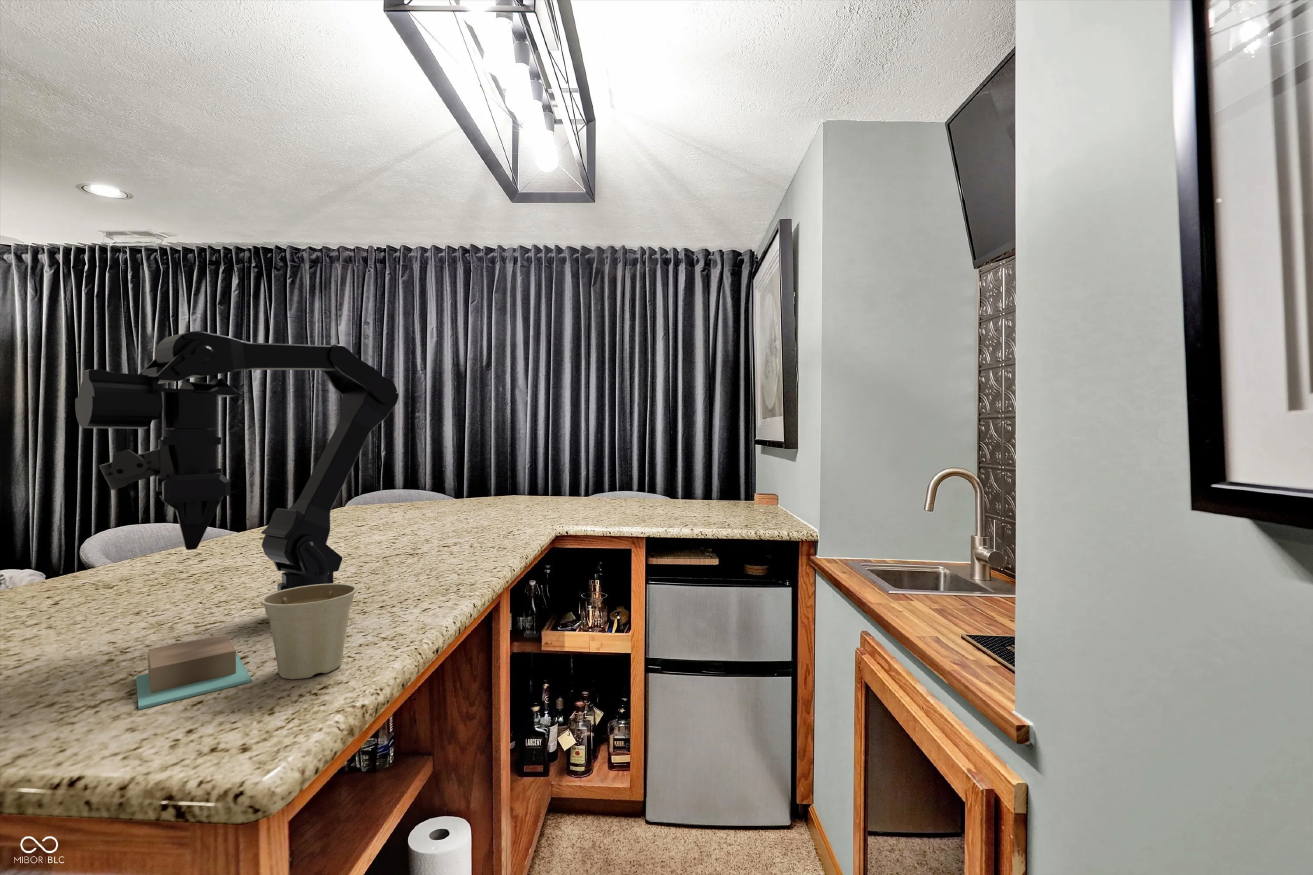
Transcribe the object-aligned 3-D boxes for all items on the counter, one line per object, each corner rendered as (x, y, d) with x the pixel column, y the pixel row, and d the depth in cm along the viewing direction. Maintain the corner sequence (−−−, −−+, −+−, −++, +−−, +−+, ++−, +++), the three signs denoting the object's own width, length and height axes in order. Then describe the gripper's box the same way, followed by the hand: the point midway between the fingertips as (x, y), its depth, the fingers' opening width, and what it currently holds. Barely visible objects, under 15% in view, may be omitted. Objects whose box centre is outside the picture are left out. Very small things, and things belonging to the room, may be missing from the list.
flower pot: (271, 660, 67) (271, 587, 67) (360, 648, 71) (360, 579, 71) (250, 693, 58) (250, 609, 58) (353, 677, 62) (353, 598, 62)
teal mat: (237, 656, 68) (237, 654, 68) (251, 681, 61) (251, 678, 61) (136, 678, 62) (136, 675, 62) (138, 709, 55) (138, 706, 55)
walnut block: (226, 634, 68) (235, 650, 62) (226, 654, 68) (236, 673, 62) (148, 649, 63) (151, 668, 58) (148, 671, 63) (151, 693, 58)
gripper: (106, 430, 75) (106, 548, 75) (103, 427, 61) (103, 571, 61) (212, 430, 82) (212, 537, 82) (230, 428, 69) (231, 556, 69)
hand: (191, 549), depth 73 cm, fingers closed
